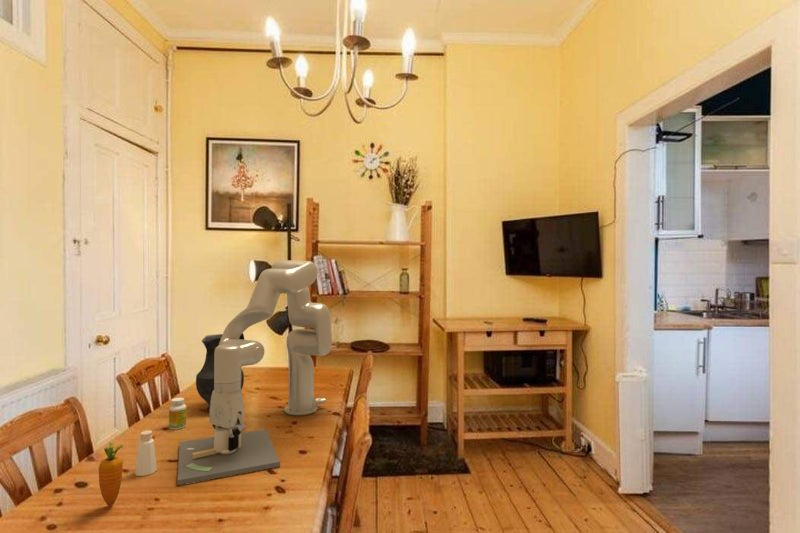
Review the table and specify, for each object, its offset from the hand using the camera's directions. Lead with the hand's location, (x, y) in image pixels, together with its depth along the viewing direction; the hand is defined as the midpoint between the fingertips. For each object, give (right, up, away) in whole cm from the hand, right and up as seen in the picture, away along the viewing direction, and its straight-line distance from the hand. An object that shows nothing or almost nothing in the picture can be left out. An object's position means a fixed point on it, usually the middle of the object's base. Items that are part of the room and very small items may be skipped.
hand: (227, 446), depth 131 cm
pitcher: (-18, -2, +43) cm, 47 cm away
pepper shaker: (-18, -3, -10) cm, 21 cm away
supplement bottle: (-26, -2, +22) cm, 34 cm away
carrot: (-17, -3, -27) cm, 32 cm away
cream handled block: (-2, -1, -2) cm, 3 cm away
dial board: (0, -3, 0) cm, 3 cm away
